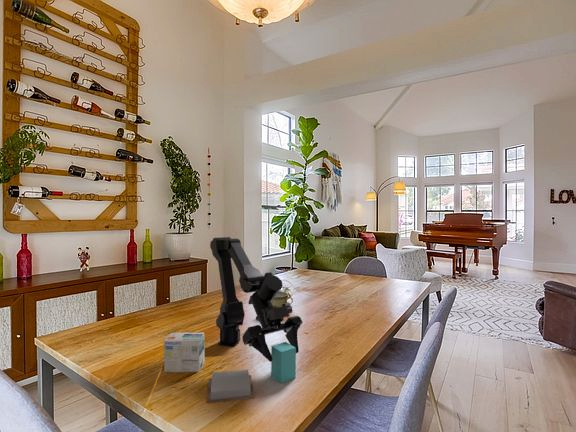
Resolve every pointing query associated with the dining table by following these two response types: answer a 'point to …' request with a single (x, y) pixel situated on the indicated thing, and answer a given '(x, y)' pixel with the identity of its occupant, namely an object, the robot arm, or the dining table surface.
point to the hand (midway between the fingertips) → (285, 356)
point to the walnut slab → (228, 398)
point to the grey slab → (230, 384)
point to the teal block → (283, 362)
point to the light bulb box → (184, 352)
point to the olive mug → (280, 299)
